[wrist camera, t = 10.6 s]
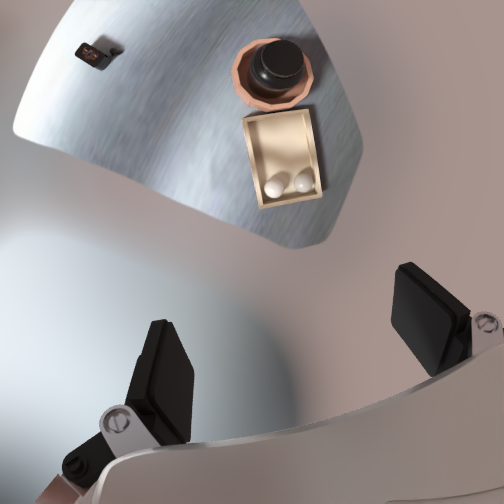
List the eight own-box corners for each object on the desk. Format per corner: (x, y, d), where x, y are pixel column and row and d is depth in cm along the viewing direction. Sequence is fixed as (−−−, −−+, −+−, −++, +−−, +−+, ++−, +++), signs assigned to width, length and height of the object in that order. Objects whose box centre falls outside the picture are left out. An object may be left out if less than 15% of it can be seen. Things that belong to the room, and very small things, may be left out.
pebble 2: (290, 173, 42) (294, 176, 39) (308, 170, 42) (313, 173, 39) (293, 192, 43) (297, 195, 40) (310, 188, 43) (316, 192, 40)
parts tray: (241, 119, 38) (242, 118, 36) (304, 110, 38) (308, 108, 36) (258, 206, 44) (260, 209, 42) (318, 194, 44) (322, 197, 42)
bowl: (226, 52, 33) (226, 44, 30) (296, 44, 34) (303, 36, 30) (240, 117, 38) (241, 114, 34) (310, 107, 38) (319, 104, 34)
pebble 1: (261, 179, 42) (263, 182, 39) (280, 175, 42) (284, 178, 39) (264, 197, 43) (267, 201, 40) (283, 194, 43) (287, 197, 40)
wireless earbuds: (106, 74, 32) (98, 70, 30) (81, 58, 30) (73, 54, 27) (123, 52, 31) (116, 47, 28) (97, 38, 29) (90, 32, 26)
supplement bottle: (286, 57, 34) (307, 30, 23) (295, 96, 36) (320, 82, 25) (241, 62, 34) (247, 35, 23) (250, 103, 36) (259, 88, 25)
